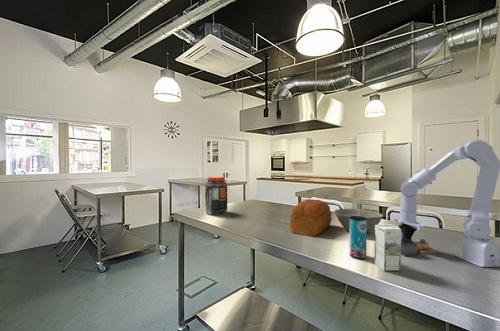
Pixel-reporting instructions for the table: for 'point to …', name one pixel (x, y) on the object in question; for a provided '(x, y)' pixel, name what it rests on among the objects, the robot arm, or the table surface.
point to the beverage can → (358, 237)
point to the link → (422, 244)
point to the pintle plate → (427, 251)
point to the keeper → (408, 247)
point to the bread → (310, 217)
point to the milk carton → (388, 247)
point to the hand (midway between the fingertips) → (407, 242)
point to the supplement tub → (216, 196)
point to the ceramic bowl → (345, 214)
